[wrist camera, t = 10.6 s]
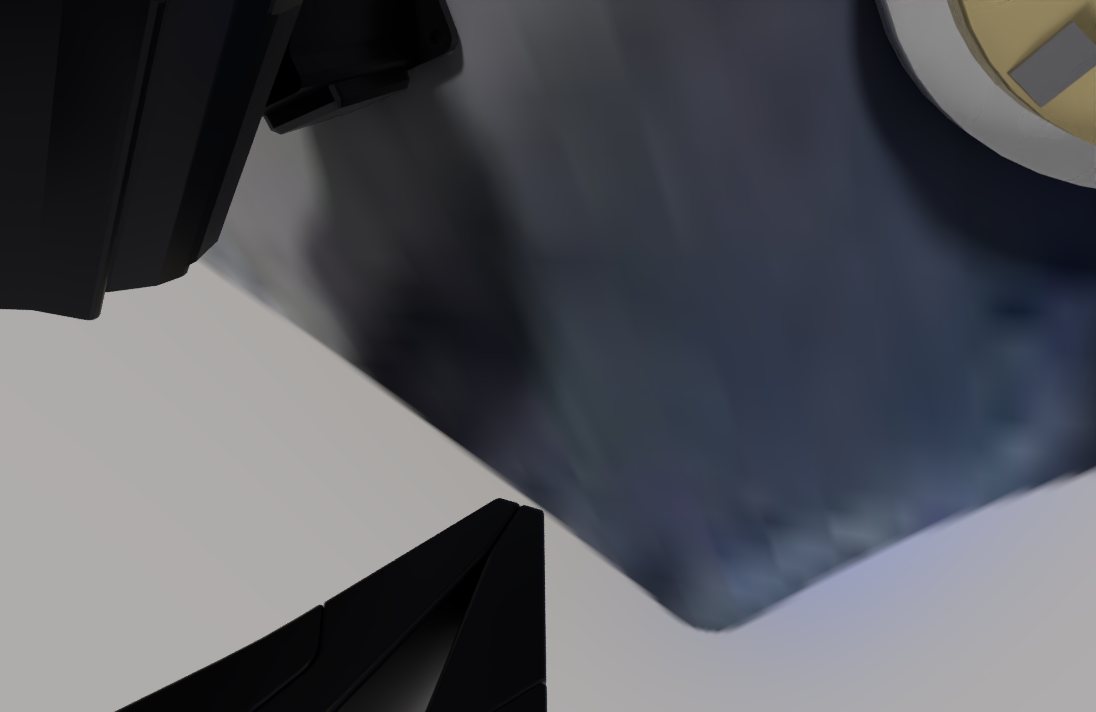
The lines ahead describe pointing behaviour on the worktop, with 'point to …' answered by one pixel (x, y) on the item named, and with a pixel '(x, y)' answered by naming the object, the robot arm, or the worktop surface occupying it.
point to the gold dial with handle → (1037, 55)
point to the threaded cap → (978, 93)
